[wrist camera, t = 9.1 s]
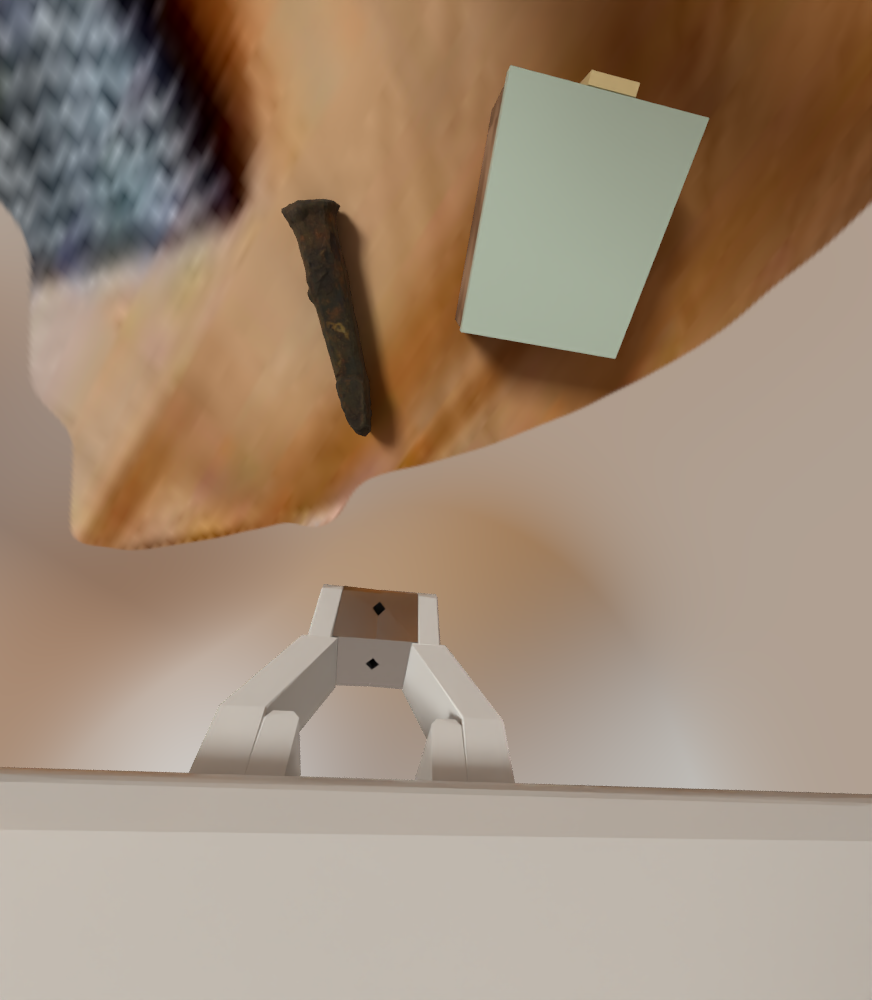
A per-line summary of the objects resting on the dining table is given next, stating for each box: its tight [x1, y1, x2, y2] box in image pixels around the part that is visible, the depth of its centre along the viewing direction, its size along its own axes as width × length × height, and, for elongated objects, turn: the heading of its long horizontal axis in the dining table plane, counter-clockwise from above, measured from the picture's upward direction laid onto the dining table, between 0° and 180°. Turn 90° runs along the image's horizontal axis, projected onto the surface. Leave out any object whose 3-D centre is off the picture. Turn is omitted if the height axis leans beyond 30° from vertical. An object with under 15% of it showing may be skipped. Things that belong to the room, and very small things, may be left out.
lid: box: [460, 65, 709, 359], centre depth 27 cm, size 15×12×3 cm
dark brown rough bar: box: [282, 199, 372, 436], centre depth 34 cm, size 19×4×5 cm, turn 5°
